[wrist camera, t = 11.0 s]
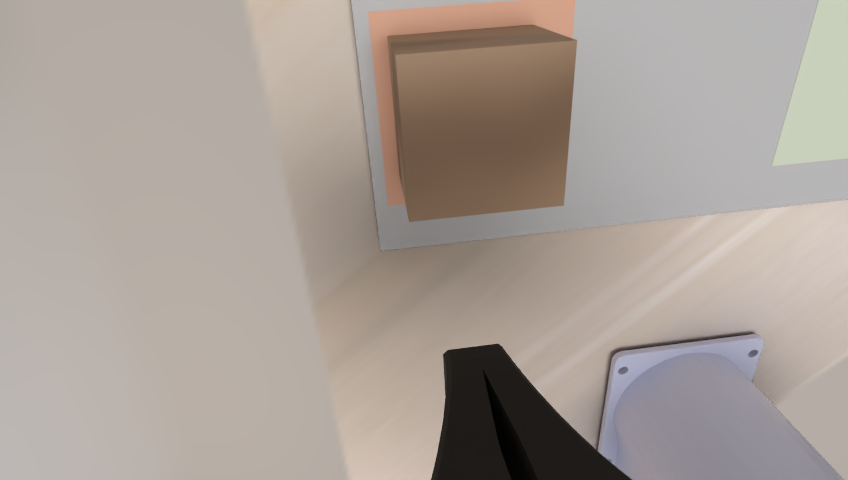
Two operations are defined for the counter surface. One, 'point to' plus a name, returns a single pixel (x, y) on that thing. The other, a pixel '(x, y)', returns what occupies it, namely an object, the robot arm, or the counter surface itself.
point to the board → (645, 109)
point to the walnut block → (482, 119)
